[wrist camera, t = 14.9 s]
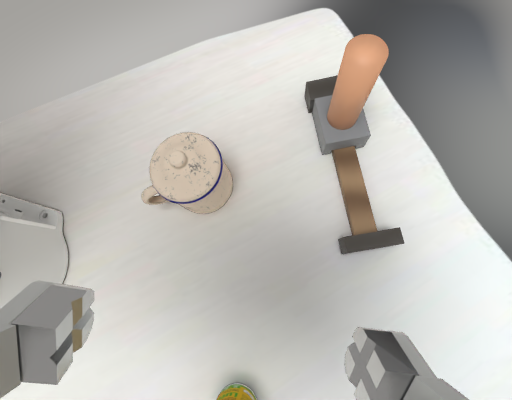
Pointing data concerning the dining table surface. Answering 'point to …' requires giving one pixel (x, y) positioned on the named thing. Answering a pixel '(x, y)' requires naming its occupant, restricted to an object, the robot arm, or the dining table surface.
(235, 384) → the supplement bottle
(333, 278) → the dining table surface
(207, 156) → the teacup with lid
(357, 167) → the rail
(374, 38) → the slider with handle
